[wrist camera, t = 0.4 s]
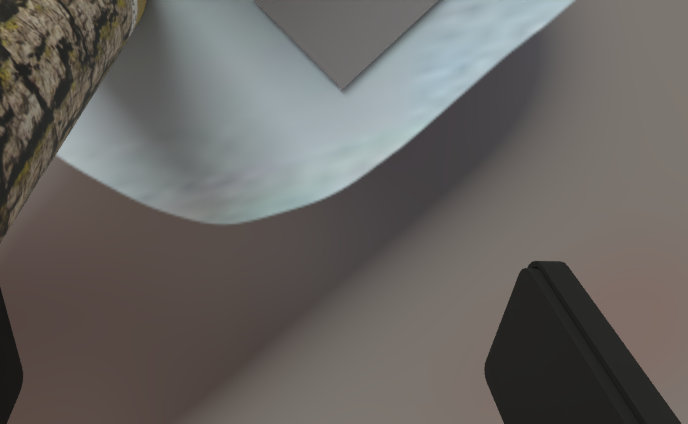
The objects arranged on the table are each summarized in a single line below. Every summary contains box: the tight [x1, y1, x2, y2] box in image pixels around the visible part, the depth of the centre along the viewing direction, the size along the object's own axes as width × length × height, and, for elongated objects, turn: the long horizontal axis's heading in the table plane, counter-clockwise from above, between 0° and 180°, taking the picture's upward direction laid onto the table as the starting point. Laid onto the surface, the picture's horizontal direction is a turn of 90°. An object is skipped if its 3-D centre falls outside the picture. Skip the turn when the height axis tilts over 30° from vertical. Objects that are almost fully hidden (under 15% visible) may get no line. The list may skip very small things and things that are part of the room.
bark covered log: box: [0, 0, 146, 243], centre depth 23 cm, size 7×7×25 cm
